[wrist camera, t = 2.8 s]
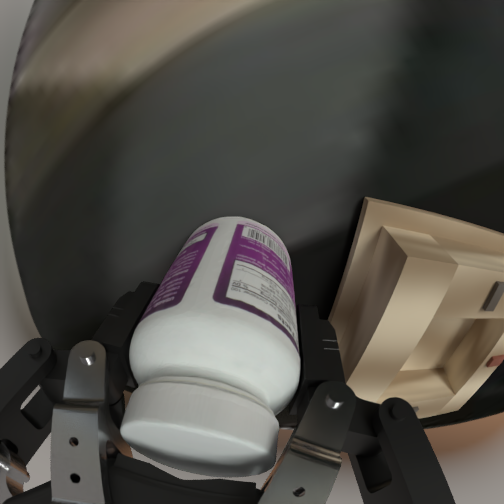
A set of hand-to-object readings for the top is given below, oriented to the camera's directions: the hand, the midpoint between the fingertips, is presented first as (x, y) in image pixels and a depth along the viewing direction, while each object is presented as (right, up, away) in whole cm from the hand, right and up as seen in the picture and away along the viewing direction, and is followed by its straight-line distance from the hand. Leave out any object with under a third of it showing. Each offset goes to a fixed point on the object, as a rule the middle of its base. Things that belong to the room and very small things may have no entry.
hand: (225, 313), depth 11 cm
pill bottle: (0, +2, +3) cm, 4 cm away
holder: (+13, -3, +4) cm, 14 cm away
